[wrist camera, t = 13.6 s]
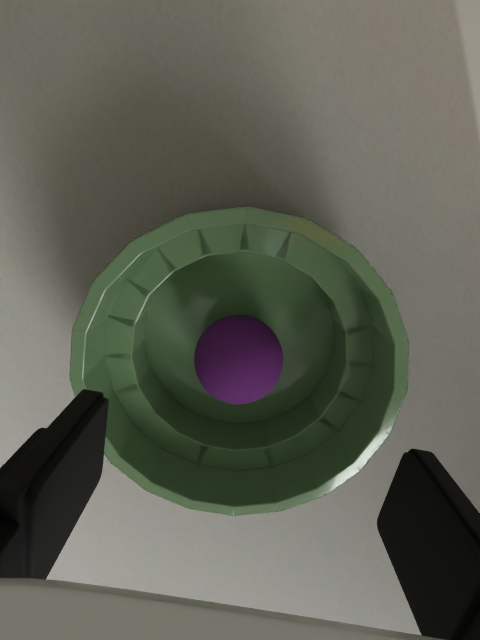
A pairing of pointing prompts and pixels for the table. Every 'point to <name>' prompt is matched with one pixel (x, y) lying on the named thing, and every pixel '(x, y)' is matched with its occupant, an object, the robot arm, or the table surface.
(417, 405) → the table surface
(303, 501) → the bowl
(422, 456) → the robot arm
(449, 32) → the table surface
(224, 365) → the ball
